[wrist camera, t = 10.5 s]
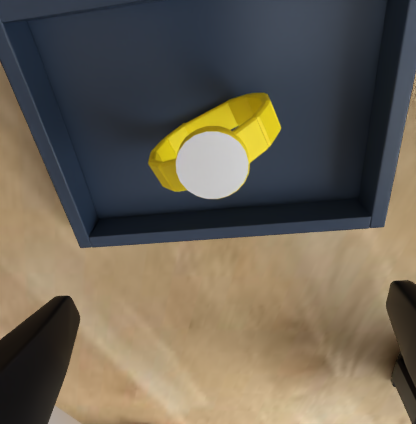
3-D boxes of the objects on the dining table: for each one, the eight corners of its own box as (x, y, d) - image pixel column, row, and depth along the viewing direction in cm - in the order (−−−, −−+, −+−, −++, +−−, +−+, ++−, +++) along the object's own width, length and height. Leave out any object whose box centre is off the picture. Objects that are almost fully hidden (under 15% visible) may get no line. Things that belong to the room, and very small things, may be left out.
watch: (178, 166, 18) (159, 226, 13) (151, 123, 17) (120, 171, 12) (277, 120, 17) (299, 168, 12) (256, 68, 15) (270, 97, 10)
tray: (411, -61, 13) (446, -75, 11) (367, 204, 20) (384, 227, 18) (10, 3, 15) (-26, 2, 13) (94, 225, 22) (80, 248, 19)
